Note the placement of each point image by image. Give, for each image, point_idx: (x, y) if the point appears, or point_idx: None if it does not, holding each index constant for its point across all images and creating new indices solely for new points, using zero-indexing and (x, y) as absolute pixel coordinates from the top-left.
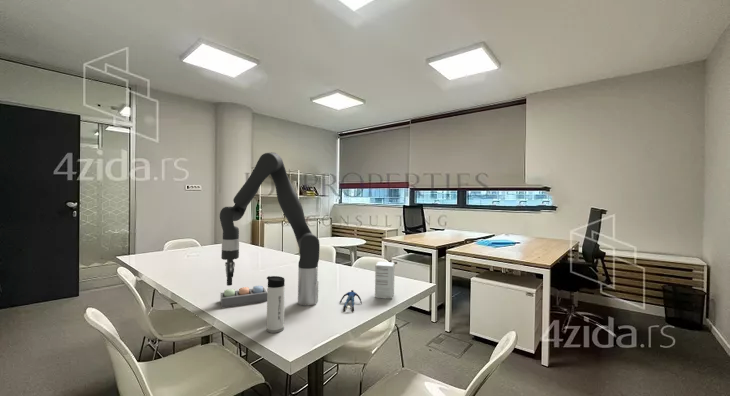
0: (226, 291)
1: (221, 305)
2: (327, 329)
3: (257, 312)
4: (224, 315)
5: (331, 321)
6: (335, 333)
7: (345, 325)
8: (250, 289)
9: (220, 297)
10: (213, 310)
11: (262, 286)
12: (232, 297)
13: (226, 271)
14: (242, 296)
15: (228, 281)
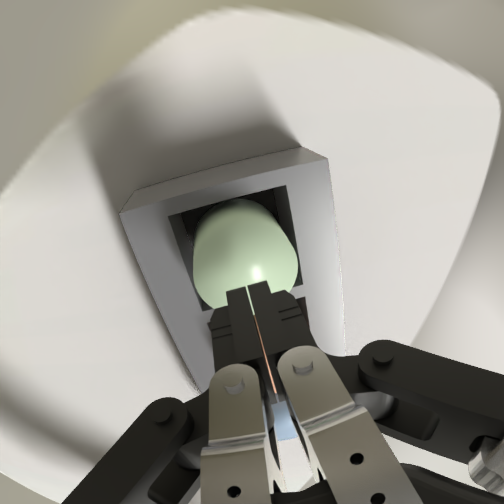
0: (213, 251)
1: (134, 194)
2: (13, 471)
3: (68, 381)
4: (12, 247)
5: (52, 485)
6: (4, 472)
7: (41, 490)
8: None
9: (308, 152)
10: (89, 149)
11: (290, 437)
12: (152, 292)
13: (205, 479)
14: (178, 349)
15: (213, 344)
